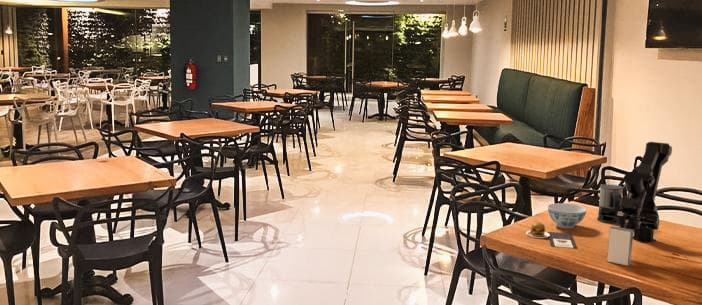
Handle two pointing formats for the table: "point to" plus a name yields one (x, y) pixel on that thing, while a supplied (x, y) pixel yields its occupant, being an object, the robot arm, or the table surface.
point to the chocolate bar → (562, 240)
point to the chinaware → (566, 214)
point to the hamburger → (537, 231)
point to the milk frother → (610, 199)
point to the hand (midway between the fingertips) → (622, 238)
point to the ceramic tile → (620, 245)
